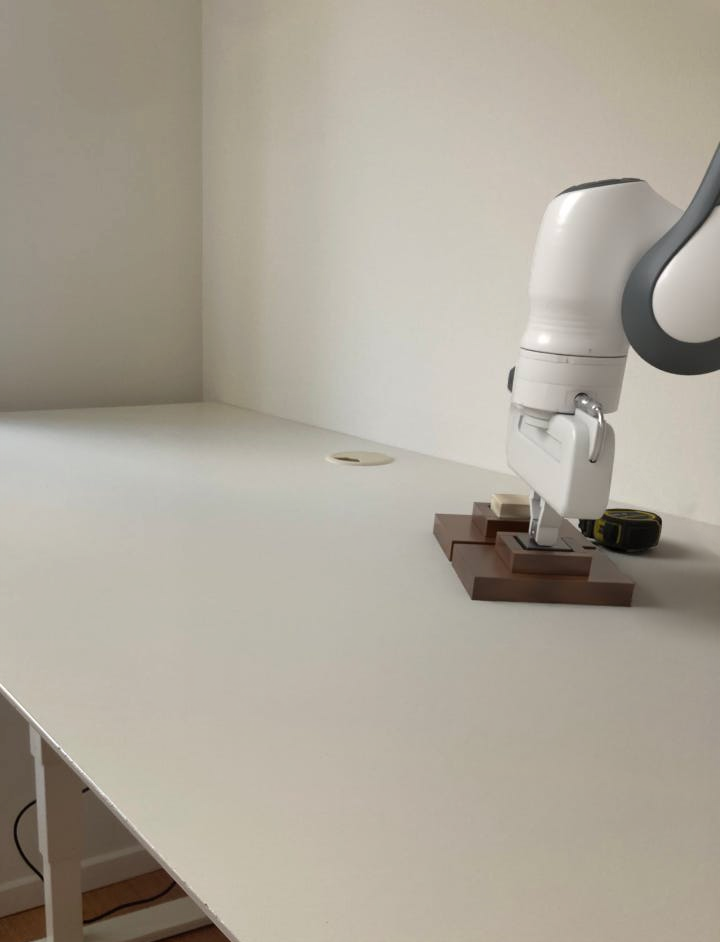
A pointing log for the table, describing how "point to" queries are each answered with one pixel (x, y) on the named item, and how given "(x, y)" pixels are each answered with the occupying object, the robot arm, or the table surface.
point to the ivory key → (511, 505)
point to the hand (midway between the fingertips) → (541, 541)
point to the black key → (531, 544)
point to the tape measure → (624, 529)
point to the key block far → (488, 528)
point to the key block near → (540, 574)
